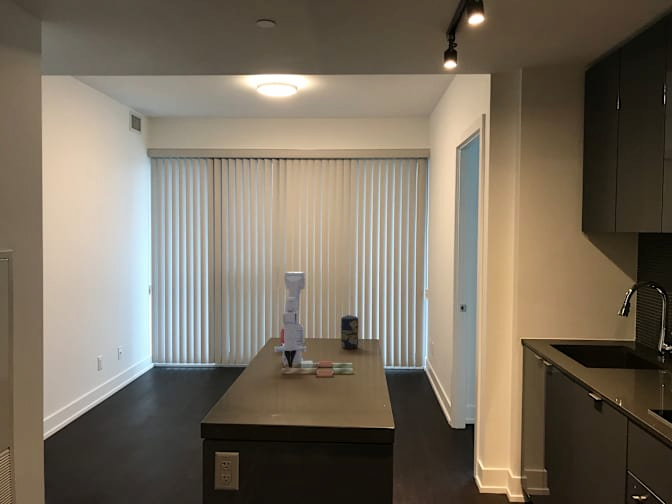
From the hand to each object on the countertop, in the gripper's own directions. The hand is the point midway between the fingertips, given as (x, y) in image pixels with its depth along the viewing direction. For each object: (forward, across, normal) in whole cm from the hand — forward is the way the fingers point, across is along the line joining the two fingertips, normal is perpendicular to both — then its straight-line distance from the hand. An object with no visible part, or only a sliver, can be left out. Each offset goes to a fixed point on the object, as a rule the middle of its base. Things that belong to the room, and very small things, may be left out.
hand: (290, 367), depth 227 cm
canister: (+2, +28, +46) cm, 54 cm away
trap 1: (+2, +16, +8) cm, 18 cm away
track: (+2, +12, 0) cm, 13 cm away
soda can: (+2, -6, +40) cm, 40 cm away
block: (+2, +8, 0) cm, 8 cm away
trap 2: (+2, +16, -8) cm, 18 cm away
